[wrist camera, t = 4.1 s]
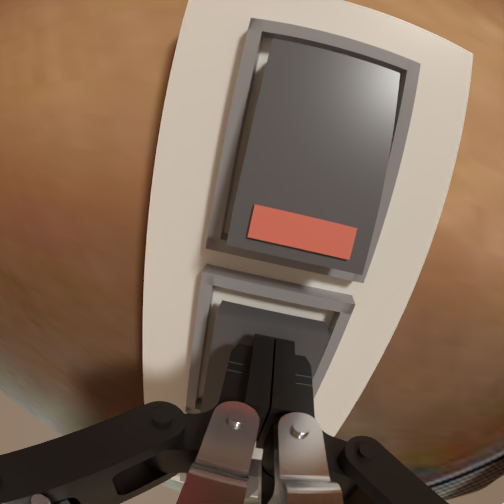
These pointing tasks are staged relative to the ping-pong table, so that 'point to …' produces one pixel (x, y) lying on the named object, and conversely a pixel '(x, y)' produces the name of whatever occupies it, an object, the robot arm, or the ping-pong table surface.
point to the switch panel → (227, 181)
